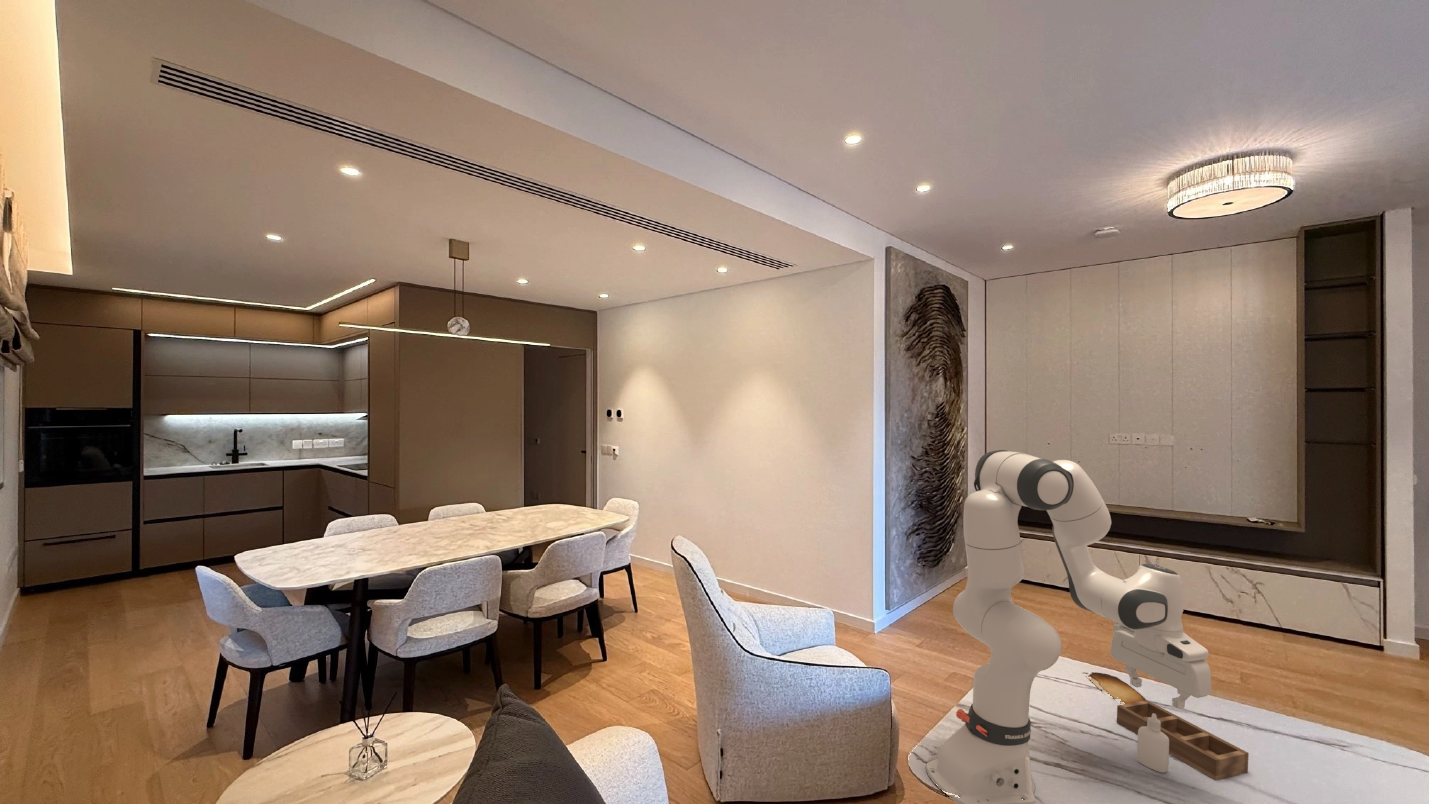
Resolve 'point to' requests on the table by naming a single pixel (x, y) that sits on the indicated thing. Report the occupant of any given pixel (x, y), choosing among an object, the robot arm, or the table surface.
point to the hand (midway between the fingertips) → (1156, 696)
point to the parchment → (1115, 687)
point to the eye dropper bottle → (1153, 746)
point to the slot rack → (1187, 741)
